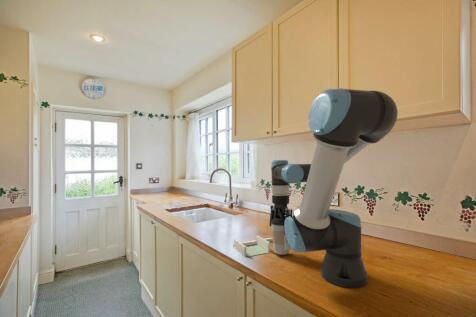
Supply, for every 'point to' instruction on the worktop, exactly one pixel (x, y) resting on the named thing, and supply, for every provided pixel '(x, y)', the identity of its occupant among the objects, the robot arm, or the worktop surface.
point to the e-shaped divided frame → (259, 241)
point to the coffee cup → (278, 236)
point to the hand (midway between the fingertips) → (281, 246)
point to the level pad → (255, 250)
